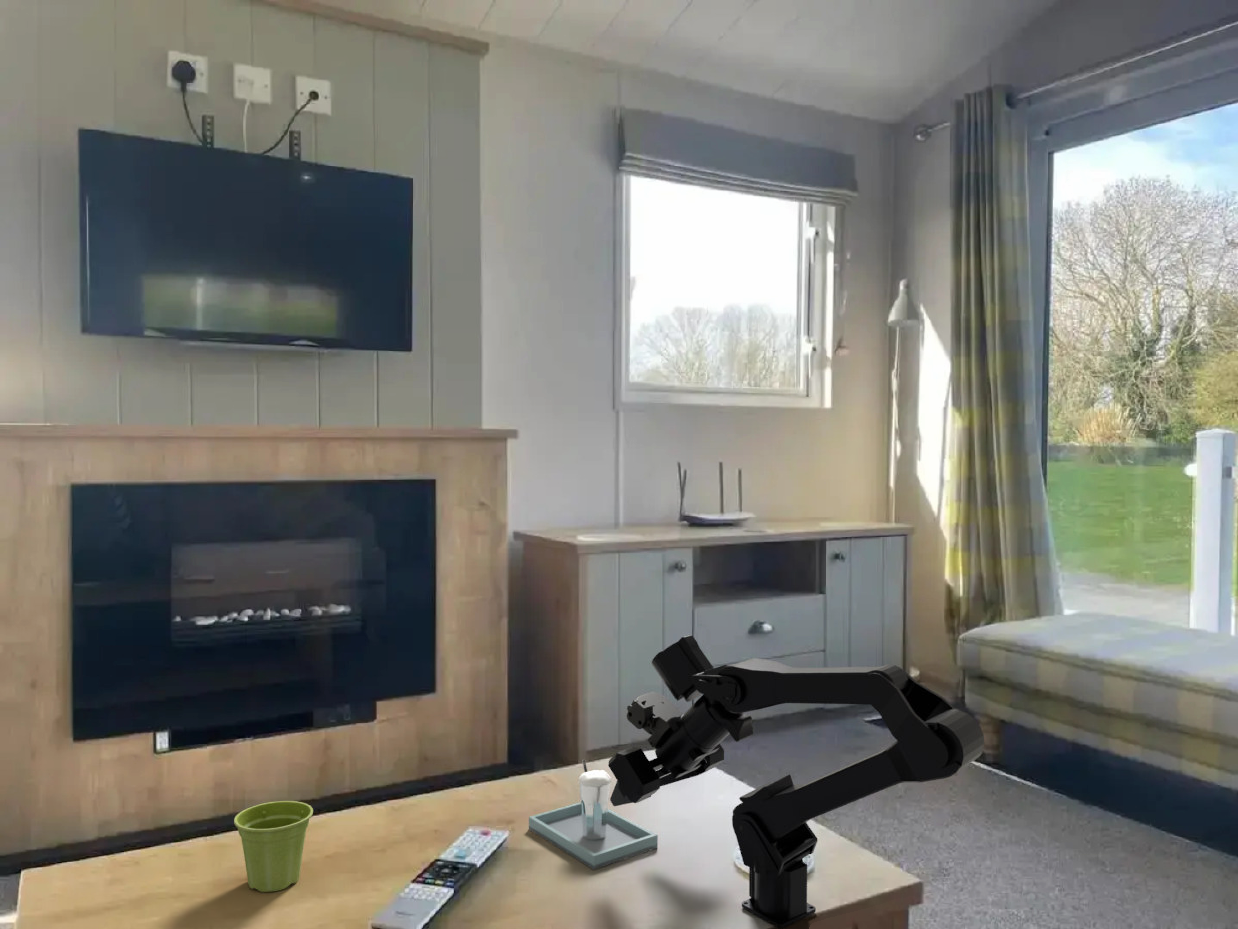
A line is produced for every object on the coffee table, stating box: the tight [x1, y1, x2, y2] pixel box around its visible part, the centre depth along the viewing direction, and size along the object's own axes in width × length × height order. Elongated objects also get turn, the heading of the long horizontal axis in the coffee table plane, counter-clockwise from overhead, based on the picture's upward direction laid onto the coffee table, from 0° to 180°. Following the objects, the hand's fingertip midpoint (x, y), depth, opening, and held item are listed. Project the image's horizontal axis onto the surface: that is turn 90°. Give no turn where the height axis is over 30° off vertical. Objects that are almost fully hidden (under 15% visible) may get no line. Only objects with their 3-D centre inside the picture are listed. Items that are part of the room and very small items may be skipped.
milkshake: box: [578, 759, 612, 840], centre depth 131 cm, size 4×5×10 cm
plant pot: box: [233, 800, 314, 893], centre depth 117 cm, size 9×9×9 cm
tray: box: [528, 801, 659, 870], centre depth 131 cm, size 16×11×2 cm
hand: (634, 793), depth 125 cm, fingers open, 9 cm apart
